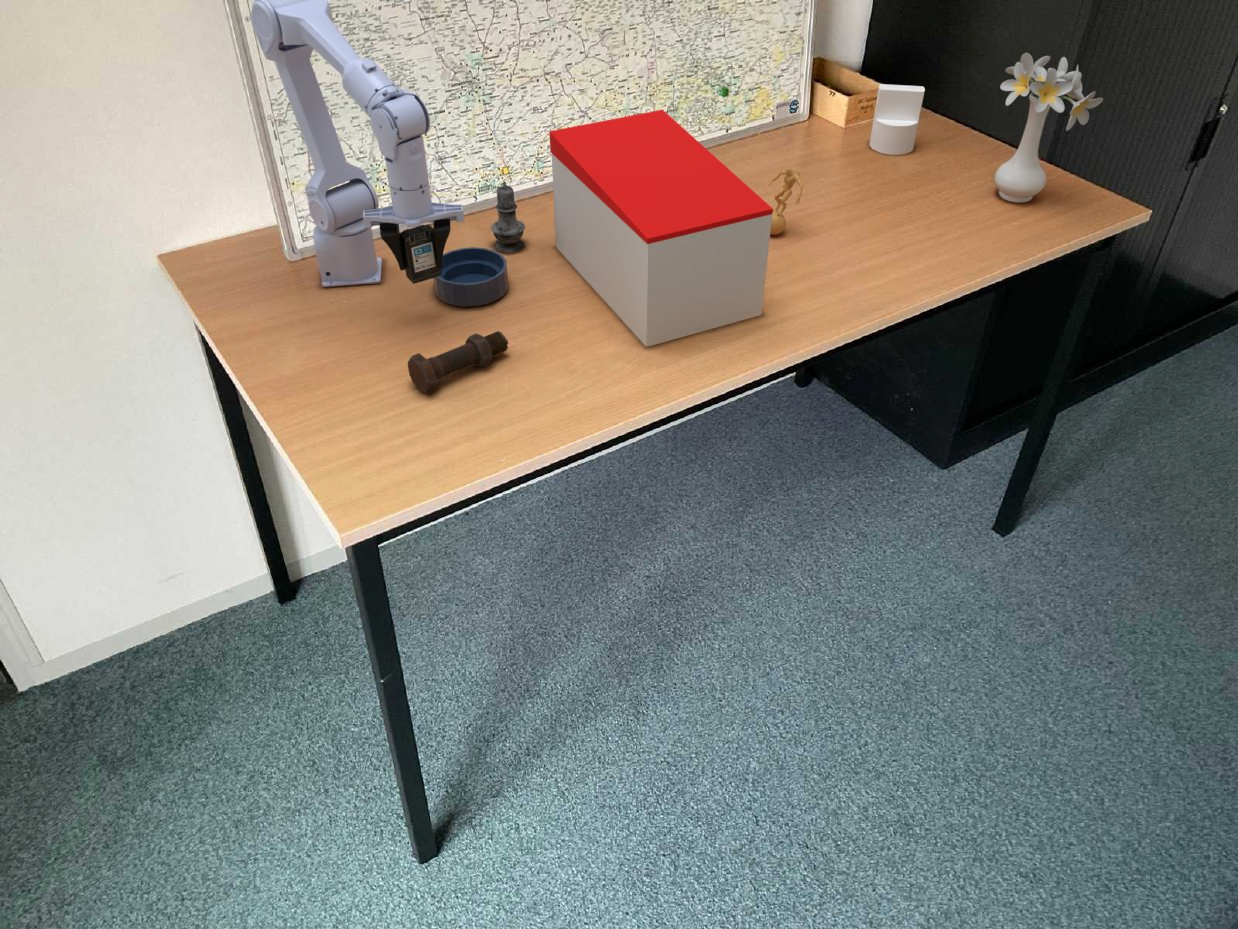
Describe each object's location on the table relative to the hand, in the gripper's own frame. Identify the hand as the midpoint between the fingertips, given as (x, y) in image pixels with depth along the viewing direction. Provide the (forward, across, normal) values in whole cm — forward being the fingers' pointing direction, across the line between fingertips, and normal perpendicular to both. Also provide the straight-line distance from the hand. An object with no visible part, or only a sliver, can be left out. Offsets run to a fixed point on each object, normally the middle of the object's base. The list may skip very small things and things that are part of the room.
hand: (421, 265), depth 154 cm
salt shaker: (+9, +14, +21) cm, 27 cm away
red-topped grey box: (+9, +37, +6) cm, 39 cm away
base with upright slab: (+9, +95, +53) cm, 109 cm away
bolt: (+9, +5, -16) cm, 19 cm away
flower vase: (+9, +111, +27) cm, 114 cm away
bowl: (+9, +7, +7) cm, 13 cm away
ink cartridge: (+2, 0, 0) cm, 2 cm away
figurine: (+9, +62, +20) cm, 66 cm away
